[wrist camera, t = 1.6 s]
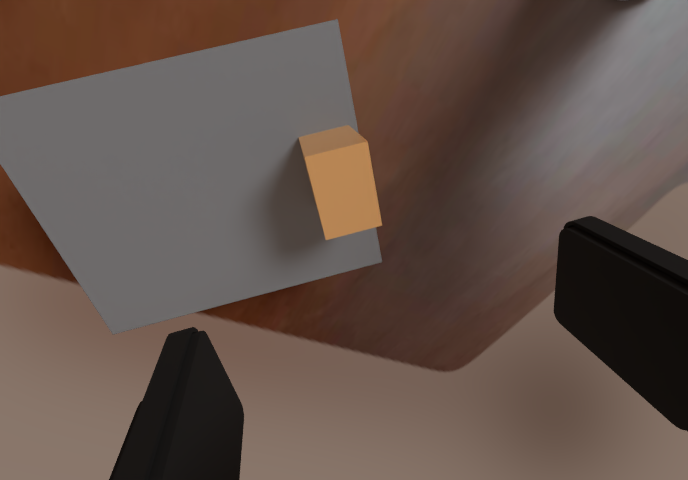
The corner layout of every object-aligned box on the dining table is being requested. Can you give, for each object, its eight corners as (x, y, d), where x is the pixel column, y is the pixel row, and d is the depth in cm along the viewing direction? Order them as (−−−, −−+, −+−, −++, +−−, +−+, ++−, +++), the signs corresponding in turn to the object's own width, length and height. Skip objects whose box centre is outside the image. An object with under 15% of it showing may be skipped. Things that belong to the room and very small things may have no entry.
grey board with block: (331, 23, 21) (356, 6, 14) (374, 248, 28) (404, 303, 21) (-8, 101, 20) (-143, 119, 13) (124, 314, 27) (77, 393, 20)
